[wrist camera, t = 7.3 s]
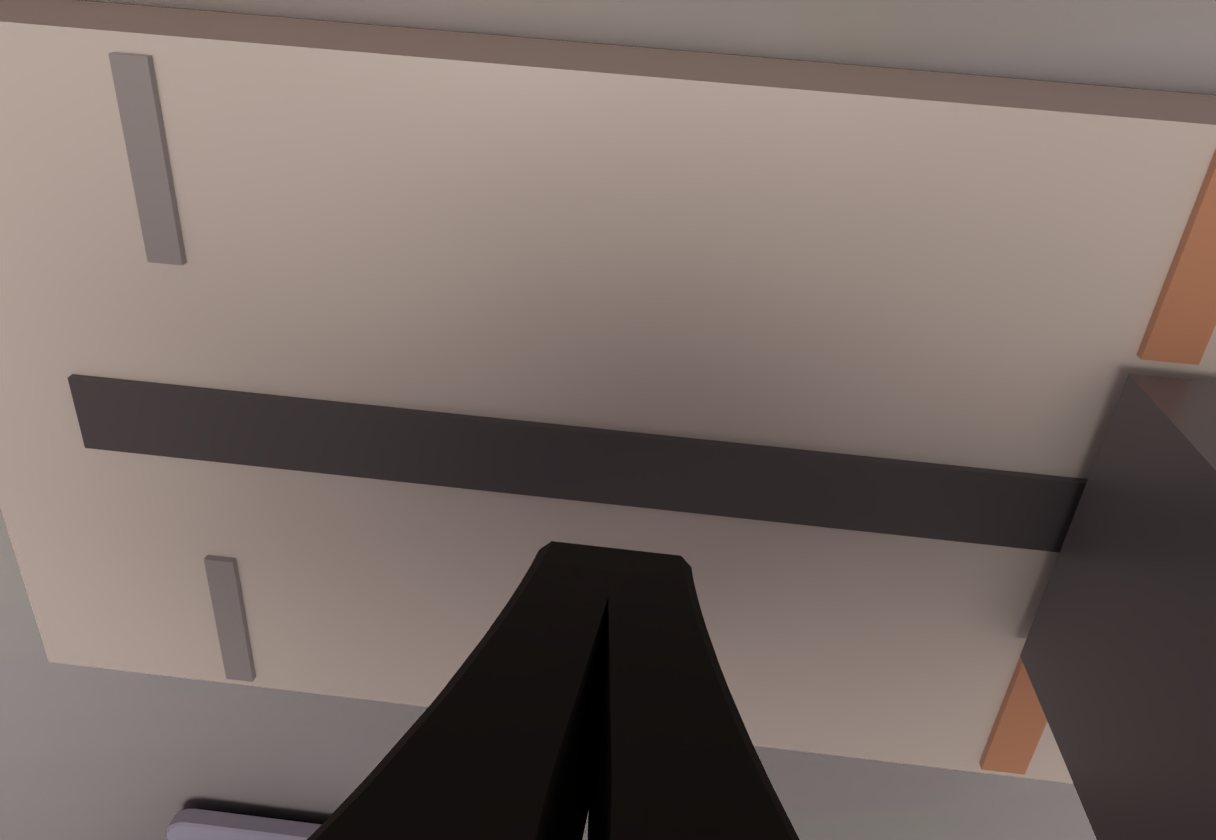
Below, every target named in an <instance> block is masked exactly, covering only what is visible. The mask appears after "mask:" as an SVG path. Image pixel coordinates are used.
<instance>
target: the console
mask: <svg viewBox="0 0 1216 840" xmlns="http://www.w3.org/2000/svg"><path fill="white" fill-rule="evenodd" d="M1128 374H1137V375H1147V376H1157V377H1167V378H1178V379H1188V380H1198V381H1208V382H1216V95H1205V94H1193V93H1181V92H1170V91H1158V90H1146V89H1134V88H1122V87H1110V86H1098V85H1086V84H1074V83H1062V82H1050V81H1038V80H1026V79H1014V78H1002V77H990V76H978V75H966V74H954V73H942V72H931V71H919V70H907V69H895V68H883V67H871V66H859V65H847V64H835V63H823V62H811V61H799V60H787V59H775V58H763V57H751V56H739V55H727V54H715V53H704V52H692V51H680V50H668V49H656V48H644V47H632V46H620V45H608V44H596V43H584V42H572V41H560V40H548V39H536V38H524V37H512V36H500V35H488V34H476V33H465V32H453V31H441V30H429V29H417V28H405V27H393V26H381V25H369V24H357V23H345V22H333V21H321V20H309V19H297V18H285V17H273V16H261V15H249V14H238V13H226V12H214V11H202V10H190V9H178V8H166V7H154V6H142V5H130V4H118V3H106V2H94V1H82V0H0V508H1V512H2V515H3V518H4V521H5V524H6V527H7V531H8V534H9V537H10V540H11V543H12V546H13V550H14V553H15V556H16V559H17V562H18V566H19V569H20V572H21V575H22V578H23V581H24V585H25V588H26V591H27V594H28V597H29V601H30V604H31V607H32V610H33V613H34V616H35V620H36V623H37V626H38V629H39V632H40V636H41V639H42V642H43V645H44V648H45V651H46V655H47V658H48V661H49V662H52V663H61V664H69V665H78V666H86V667H95V668H103V669H111V670H120V671H128V672H137V673H145V674H153V675H162V676H170V677H179V678H187V679H196V680H204V681H212V682H221V683H229V684H238V685H246V686H254V687H263V688H271V689H280V690H288V691H297V692H305V693H313V694H322V695H330V696H339V697H347V698H355V699H364V700H372V701H381V702H389V703H397V704H406V705H414V706H423V707H429V706H430V705H431V703H432V702H433V701H434V700H435V699H436V697H437V696H438V695H439V694H440V692H441V691H442V690H443V689H444V687H445V686H446V685H447V683H448V682H449V681H450V680H451V678H452V677H453V676H454V674H455V673H456V672H457V671H458V669H459V668H460V667H461V665H462V664H463V663H464V661H465V660H466V659H467V658H468V656H469V655H470V654H471V652H472V651H473V650H474V649H475V647H476V646H477V645H478V643H479V642H480V641H481V639H482V638H483V637H484V635H485V634H486V633H487V631H488V630H489V628H490V627H491V626H492V624H493V623H494V621H495V620H496V618H497V617H498V616H499V614H500V613H501V611H502V610H503V608H504V607H505V606H506V604H507V603H508V601H509V600H510V598H511V597H512V595H513V594H514V592H515V590H516V589H517V587H518V586H519V584H520V583H521V581H522V579H523V578H524V576H525V574H526V573H527V571H528V569H529V568H530V566H531V564H532V562H533V560H534V558H535V556H536V554H537V553H538V551H539V549H541V548H542V547H544V546H545V545H547V544H548V543H550V542H551V541H555V542H564V543H573V544H582V545H591V546H600V547H609V548H617V549H626V550H635V551H644V552H653V553H662V554H671V555H680V556H682V557H683V558H684V559H685V560H686V562H687V563H688V564H689V565H690V566H691V567H692V575H693V580H694V584H695V589H696V593H697V597H698V601H699V604H700V608H701V611H702V615H703V618H704V621H705V624H706V627H707V631H708V633H709V636H710V639H711V642H712V645H713V648H714V650H715V653H716V656H717V659H718V662H719V664H720V667H721V670H722V672H723V675H724V677H725V680H726V683H727V685H728V688H729V690H730V692H731V695H732V697H733V699H734V702H735V704H736V706H737V709H738V711H739V713H740V716H741V718H742V720H743V723H744V725H745V727H746V730H747V732H748V734H749V737H750V739H751V741H752V744H753V746H759V747H768V748H776V749H785V750H793V751H801V752H810V753H818V754H827V755H835V756H843V757H852V758H860V759H869V760H877V761H886V762H894V763H902V764H911V765H919V766H928V767H936V768H944V769H953V770H961V771H970V772H978V773H987V774H995V775H1003V776H1012V777H1020V778H1029V779H1037V780H1045V781H1054V782H1062V783H1071V784H1073V781H1072V779H1071V776H1070V774H1069V772H1068V769H1067V767H1066V764H1065V762H1064V760H1063V757H1062V755H1061V752H1060V750H1059V748H1058V745H1057V743H1056V741H1055V738H1054V736H1053V733H1052V731H1051V729H1050V726H1049V724H1048V721H1047V719H1046V717H1045V714H1044V712H1043V710H1042V707H1041V705H1040V702H1039V700H1038V698H1037V695H1036V693H1035V690H1034V688H1033V686H1032V683H1031V681H1030V678H1029V676H1028V674H1027V671H1026V669H1025V667H1024V664H1023V662H1022V659H1021V657H1020V654H1021V652H1022V649H1023V647H1024V644H1025V641H1026V639H1027V636H1028V634H1029V631H1030V628H1031V626H1032V623H1033V621H1034V618H1035V615H1036V613H1037V610H1038V608H1039V605H1040V602H1041V600H1042V597H1043V595H1044V592H1045V589H1046V587H1047V584H1048V582H1049V579H1050V576H1051V574H1052V571H1053V569H1054V566H1055V563H1056V561H1057V558H1058V556H1059V553H1060V550H1061V548H1062V545H1063V543H1064V540H1065V537H1066V535H1067V532H1068V530H1069V527H1070V524H1071V522H1072V519H1073V517H1074V514H1075V511H1076V509H1077V506H1078V504H1079V501H1080V499H1081V496H1082V493H1083V491H1084V488H1085V486H1086V483H1087V480H1088V478H1089V475H1090V473H1091V470H1092V467H1093V465H1094V462H1095V460H1096V457H1097V454H1098V452H1099V449H1100V447H1101V444H1102V441H1103V439H1104V436H1105V434H1106V431H1107V428H1108V426H1109V423H1110V421H1111V418H1112V415H1113V413H1114V410H1115V408H1116V405H1117V402H1118V400H1119V397H1120V395H1121V392H1122V389H1123V387H1124V384H1125V382H1126V379H1127V376H1128Z"/></svg>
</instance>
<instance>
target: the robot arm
mask: <svg viewBox="0 0 1216 840" xmlns="http://www.w3.org/2000/svg"><path fill="white" fill-rule="evenodd" d="M588 810H589V816H588V840H799V838H798V836H797V834H796V832H795V830H794V828H793V826H792V824H791V822H790V820H789V818H788V816H787V814H786V812H785V810H784V808H783V806H782V804H781V802H780V800H779V798H778V796H777V794H776V792H775V791H774V789H773V787H772V784H771V782H770V780H769V778H768V776H767V774H766V772H765V770H764V767H763V765H762V763H761V761H760V759H759V757H758V755H757V753H756V750H755V748H754V746H753V744H752V741H751V739H750V737H749V734H748V732H747V730H746V727H745V725H744V723H743V720H742V718H741V716H740V713H739V711H738V709H737V706H736V704H735V702H734V699H733V697H732V695H731V692H730V690H729V688H728V685H727V683H726V680H725V677H724V675H723V672H722V670H721V667H720V664H719V662H718V659H717V656H716V653H715V650H714V648H713V645H712V642H711V639H710V636H709V633H708V631H707V627H706V624H705V621H704V618H703V615H702V611H701V608H700V604H699V601H698V597H697V593H696V589H695V584H694V580H693V575H692V567H691V566H690V565H689V564H688V563H687V562H686V560H685V559H684V558H683V557H682V556H680V555H671V554H662V553H653V552H644V551H635V550H626V549H617V548H609V547H600V546H591V545H582V544H573V543H564V542H555V541H551V542H550V543H548V544H547V545H545V546H544V547H542V548H541V549H539V551H538V553H537V554H536V556H535V558H534V560H533V562H532V564H531V566H530V568H529V569H528V571H527V573H526V574H525V576H524V578H523V579H522V581H521V583H520V584H519V586H518V587H517V589H516V590H515V592H514V594H513V595H512V597H511V598H510V600H509V601H508V603H507V604H506V606H505V607H504V608H503V610H502V611H501V613H500V614H499V616H498V617H497V618H496V620H495V621H494V623H493V624H492V626H491V627H490V628H489V630H488V631H487V633H486V634H485V635H484V637H483V638H482V639H481V641H480V642H479V643H478V645H477V646H476V647H475V649H474V650H473V651H472V652H471V654H470V655H469V656H468V658H467V659H466V660H465V661H464V663H463V664H462V665H461V667H460V668H459V669H458V671H457V672H456V673H455V674H454V676H453V677H452V678H451V680H450V681H449V682H448V683H447V685H446V686H445V687H444V689H443V690H442V691H441V692H440V694H439V695H438V696H437V697H436V699H435V700H434V701H433V702H432V703H431V705H430V706H429V707H428V708H427V709H426V711H425V712H424V713H423V714H422V715H421V716H420V717H419V719H418V720H417V721H416V722H415V723H414V724H413V725H412V727H411V728H410V729H409V730H408V731H407V732H406V733H405V735H404V736H403V737H402V738H401V739H400V740H399V741H398V743H397V744H396V745H395V746H394V747H393V748H392V749H391V751H390V752H389V753H388V754H387V755H386V756H385V757H384V759H383V760H382V761H381V762H380V763H379V764H378V765H377V767H376V768H375V769H374V770H373V771H372V772H371V773H370V774H369V776H368V777H367V778H366V779H365V780H364V781H363V782H362V783H361V784H360V785H359V786H358V787H357V788H356V789H355V791H354V792H353V793H352V794H351V795H350V796H349V797H348V798H347V799H346V800H345V801H344V802H343V803H342V804H341V805H340V806H339V807H338V808H337V809H336V811H335V812H334V813H333V814H332V815H331V816H330V817H329V818H328V819H327V820H326V821H325V822H324V823H323V824H314V823H307V822H299V821H291V820H283V819H275V818H267V817H259V816H251V815H243V814H235V813H227V812H219V811H211V810H203V809H184V810H182V811H179V812H177V814H176V815H175V816H174V817H173V819H172V821H171V823H170V824H169V826H168V828H167V829H166V838H167V840H582V838H583V833H584V828H585V824H586V819H587V815H588Z"/></svg>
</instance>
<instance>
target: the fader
mask: <svg viewBox="0 0 1216 840" xmlns="http://www.w3.org/2000/svg"><path fill="white" fill-rule="evenodd" d="M1020 657H1021V659H1022V662H1023V664H1024V667H1025V669H1026V671H1027V674H1028V676H1029V678H1030V681H1031V683H1032V686H1033V688H1034V690H1035V693H1036V695H1037V698H1038V700H1039V702H1040V705H1041V707H1042V710H1043V712H1044V714H1045V717H1046V719H1047V721H1048V724H1049V726H1050V729H1051V731H1052V733H1053V736H1054V738H1055V741H1056V743H1057V745H1058V748H1059V750H1060V752H1061V755H1062V757H1063V760H1064V762H1065V764H1066V767H1067V769H1068V772H1069V774H1070V776H1071V779H1072V781H1073V784H1074V786H1075V788H1076V791H1077V793H1078V795H1079V798H1080V800H1081V803H1082V805H1083V807H1084V810H1085V812H1086V815H1087V817H1088V819H1089V822H1090V824H1091V826H1092V829H1093V831H1094V834H1095V836H1096V838H1097V840H1216V382H1208V381H1198V380H1188V379H1178V378H1167V377H1157V376H1147V375H1137V374H1128V376H1127V379H1126V382H1125V384H1124V387H1123V389H1122V392H1121V395H1120V397H1119V400H1118V402H1117V405H1116V408H1115V410H1114V413H1113V415H1112V418H1111V421H1110V423H1109V426H1108V428H1107V431H1106V434H1105V436H1104V439H1103V441H1102V444H1101V447H1100V449H1099V452H1098V454H1097V457H1096V460H1095V462H1094V465H1093V467H1092V470H1091V473H1090V475H1089V478H1088V480H1087V483H1086V486H1085V488H1084V491H1083V493H1082V496H1081V499H1080V501H1079V504H1078V506H1077V509H1076V511H1075V514H1074V517H1073V519H1072V522H1071V524H1070V527H1069V530H1068V532H1067V535H1066V537H1065V540H1064V543H1063V545H1062V548H1061V550H1060V553H1059V556H1058V558H1057V561H1056V563H1055V566H1054V569H1053V571H1052V574H1051V576H1050V579H1049V582H1048V584H1047V587H1046V589H1045V592H1044V595H1043V597H1042V600H1041V602H1040V605H1039V608H1038V610H1037V613H1036V615H1035V618H1034V621H1033V623H1032V626H1031V628H1030V631H1029V634H1028V636H1027V639H1026V641H1025V644H1024V647H1023V649H1022V652H1021V654H1020Z"/></svg>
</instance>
